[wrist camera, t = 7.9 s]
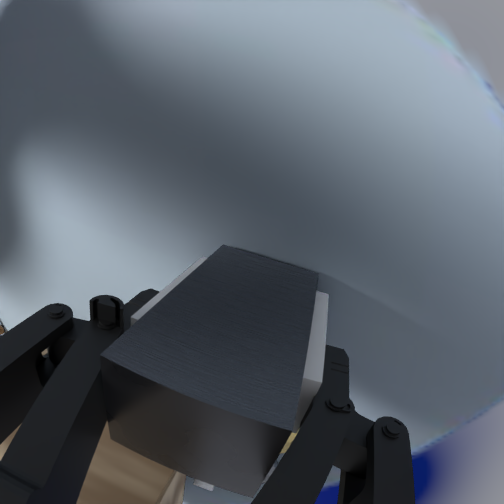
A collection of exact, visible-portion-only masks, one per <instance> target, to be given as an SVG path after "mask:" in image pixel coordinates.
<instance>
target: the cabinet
mask: <svg viewBox="0 0 504 504" xmlns="http://www.w3.org/2000/svg"><path fill="white" fill-rule="evenodd" d="M46 353H48V352H47V349H45V350H44V351H43V352H42V355H45V354H46ZM21 424H22V423H21ZM21 424H20V425H21ZM20 425H19V426H18V427H17V428H16V429H15V430H14V431H13V432H12V433H11V434H10V435H9V436H8V437H7V438H6V439H5V440H4V441H3V442H2V443H1V445H0V461H1V459H2V457H3V456H4V454H5V452H6V450H7V448H8V446H9V445H10V443H11V441H12V439H13V438H14V436H15V434H16V432H17V431H18V429H19V427H20ZM185 480H186V475H185V474H182V473H180V472H177V471H175V470H173V469H170V468H168V467H166V466H163V465H161V464H159V463H157V462H155V461H152V460H150V459H148V458H146V457H144V456H142V455H140V454H138V453H136V452H134V451H132V450H130V449H128V448H126V447H124V446H122V445H120V444H119V443H117V442H115V441H113V440H111V439H110V433H109V427H108V421H107V422H106V425H105V427H104V430H103V432H102V435H101V437H100V440H99V443H98V445H97V448H96V450H95V453H94V456H93V458H92V461H91V464H90V466H89V469H88V472H87V475H86V477H85V480H84V483H83V486H82V489H81V491H80V494H79V497H78V500H77V503H76V504H182V502H183V495H184V487H185Z"/></svg>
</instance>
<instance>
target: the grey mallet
mask: <svg viewBox="0 0 504 504" xmlns="http://www.w3.org/2000/svg"><path fill="white" fill-rule="evenodd" d="M317 282H318V273H315V272H311V271H308V270H305V269H302V268H298V267H295V266H292V265H289V264H285V263H282V262H279V261H275V260H272V259H269V258H266V257H262V256H259V255H256V254H253V253H249V252H246V251H243V250H239V249H236V248H233V247H230V246H226V245H222V246H221V247H220V248H219V249H218V250H217V251H215V252H214V253H213V254H212V255H211V256H210V257H209V258H207V259H206V260H205V261H204V262H203V263H202V264H201V265H199V266H198V267H197V268H196V269H195V270H194V271H193V272H191V273H190V274H189V275H188V276H187V277H186V278H185V279H184V280H182V281H181V282H180V283H179V284H178V285H177V286H176V287H174V288H173V289H172V290H171V291H170V292H169V293H168V294H167V295H165V296H164V297H163V298H162V299H161V300H160V301H159V302H158V303H156V304H155V305H154V306H153V307H152V308H151V309H150V310H149V311H148V312H146V313H145V314H144V315H143V316H142V317H141V318H140V319H139V320H138V321H136V322H135V323H134V324H133V325H132V326H131V327H130V328H129V329H128V330H127V331H125V332H124V333H123V334H122V335H121V336H120V337H119V338H118V339H117V340H116V341H114V342H113V343H112V344H111V345H110V346H109V347H108V348H107V349H106V350H105V351H104V352H102V353H101V354H100V361H101V373H102V382H103V391H104V400H105V407H106V414H107V421H108V427H109V433H110V439H111V440H113V441H115V442H117V443H119V444H120V445H122V446H124V447H126V448H128V449H130V450H132V451H134V452H136V453H138V454H140V455H142V456H144V457H146V458H148V459H150V460H152V461H155V462H157V463H159V464H161V465H163V466H166V467H168V468H170V469H173V470H175V471H177V472H180V473H182V474H185V475H187V476H190V477H192V478H195V479H194V483H193V485H196V486H199V487H201V488H204V489H207V490H210V491H213V488H214V486H217V487H220V488H223V489H226V490H229V491H232V492H235V493H238V494H242V495H245V496H248V497H252V498H253V496H254V495H255V493H256V492H257V490H258V489H259V487H260V486H261V484H262V482H263V481H264V479H265V478H266V476H267V474H268V473H269V471H270V469H271V468H272V466H273V464H274V463H275V461H276V459H277V458H278V456H279V454H280V453H281V451H282V449H283V447H284V446H285V444H286V442H287V440H288V438H289V437H290V435H291V433H292V431H293V427H294V422H295V417H296V412H297V407H298V402H299V396H300V391H301V386H302V380H303V375H304V369H305V363H306V357H307V351H308V345H309V339H310V332H311V326H312V319H313V312H314V305H315V298H316V290H317Z"/></svg>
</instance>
